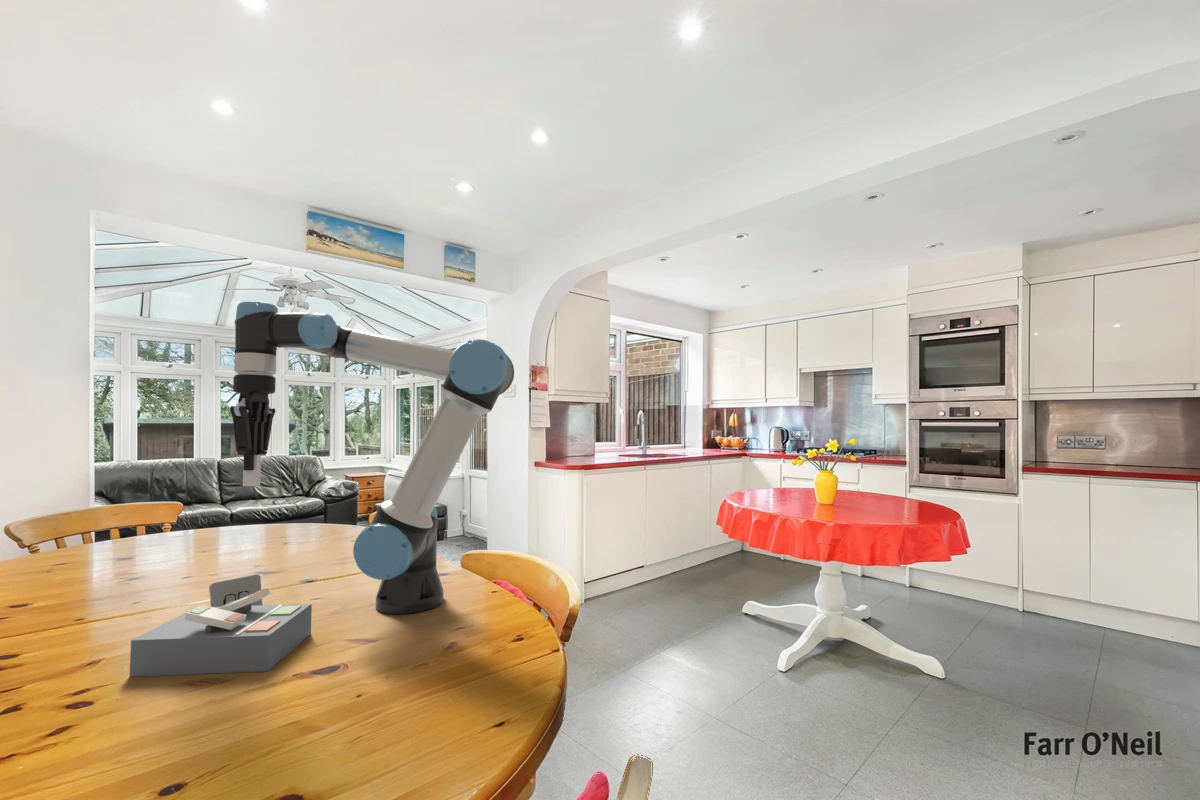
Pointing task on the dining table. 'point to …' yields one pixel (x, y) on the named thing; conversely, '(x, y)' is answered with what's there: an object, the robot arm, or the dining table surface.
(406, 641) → the dining table surface
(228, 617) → the rocker
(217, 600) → the electrical switch
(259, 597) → the rocker
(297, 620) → the console
